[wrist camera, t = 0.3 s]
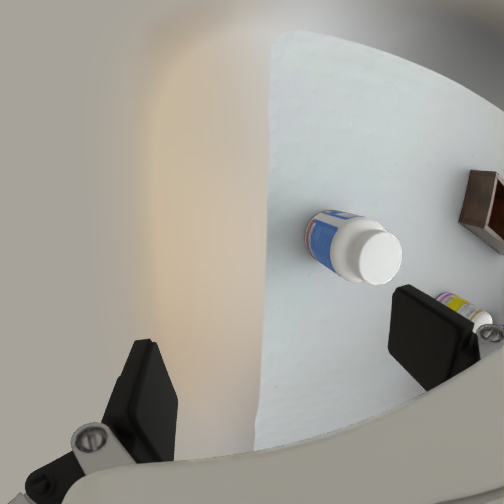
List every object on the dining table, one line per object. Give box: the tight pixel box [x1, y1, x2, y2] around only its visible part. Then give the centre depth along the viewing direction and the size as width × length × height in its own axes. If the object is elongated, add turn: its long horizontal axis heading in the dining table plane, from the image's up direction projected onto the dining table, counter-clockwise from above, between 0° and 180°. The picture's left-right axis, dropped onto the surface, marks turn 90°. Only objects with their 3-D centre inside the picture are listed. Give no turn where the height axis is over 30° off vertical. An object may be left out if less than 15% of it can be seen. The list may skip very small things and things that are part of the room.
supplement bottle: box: [436, 293, 492, 334], centre depth 31 cm, size 7×7×13 cm
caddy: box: [459, 170, 504, 255], centre depth 33 cm, size 9×17×6 cm, turn 71°
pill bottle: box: [305, 210, 402, 285], centre depth 26 cm, size 6×6×11 cm
